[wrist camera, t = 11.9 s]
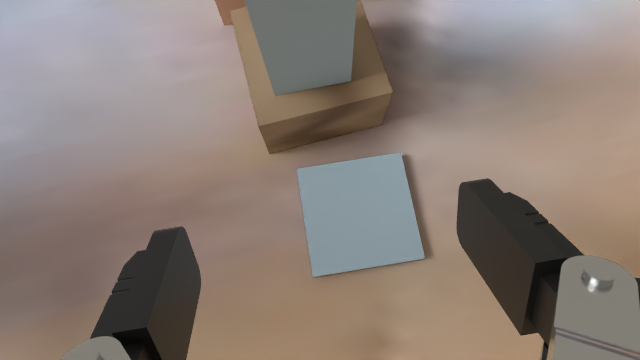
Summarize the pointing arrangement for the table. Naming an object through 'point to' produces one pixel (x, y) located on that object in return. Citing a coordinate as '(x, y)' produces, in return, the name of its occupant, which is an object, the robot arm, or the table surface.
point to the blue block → (304, 41)
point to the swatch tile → (358, 214)
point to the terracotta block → (228, 9)
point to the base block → (315, 92)
